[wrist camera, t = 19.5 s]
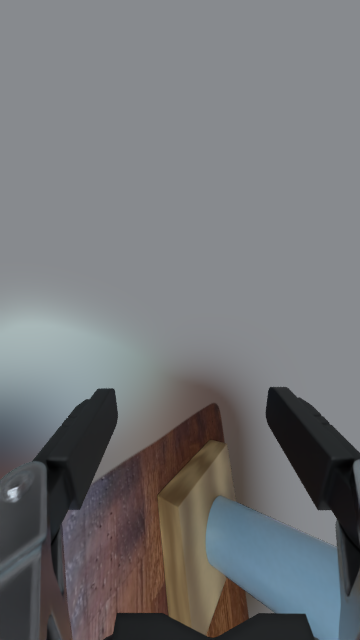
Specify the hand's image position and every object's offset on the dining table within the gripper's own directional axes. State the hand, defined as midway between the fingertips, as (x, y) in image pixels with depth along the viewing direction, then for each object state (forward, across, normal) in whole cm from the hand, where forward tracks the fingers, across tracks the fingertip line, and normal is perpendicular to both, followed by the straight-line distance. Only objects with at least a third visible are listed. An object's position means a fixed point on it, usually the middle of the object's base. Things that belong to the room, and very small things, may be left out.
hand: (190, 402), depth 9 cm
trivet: (+8, -1, +24) cm, 25 cm away
